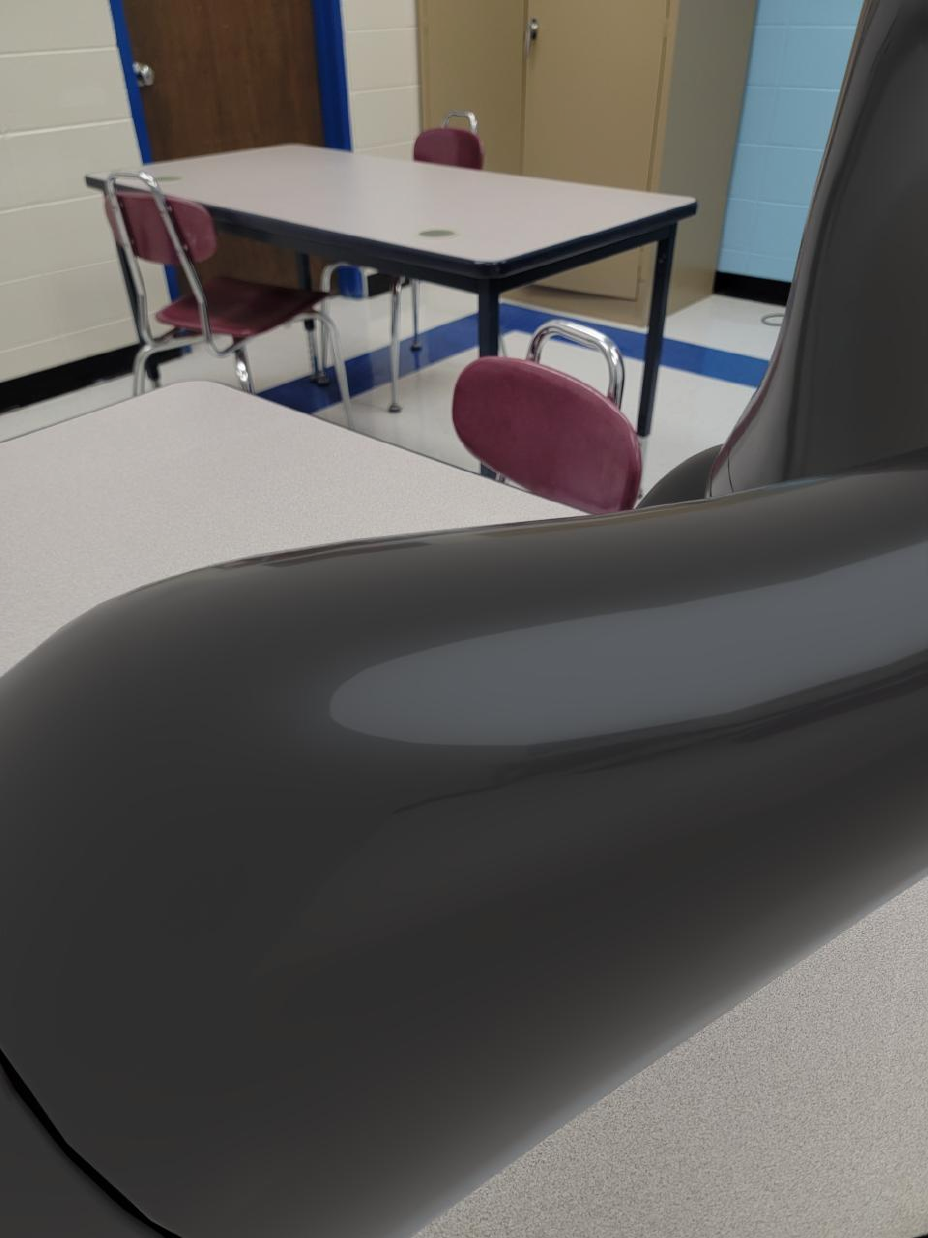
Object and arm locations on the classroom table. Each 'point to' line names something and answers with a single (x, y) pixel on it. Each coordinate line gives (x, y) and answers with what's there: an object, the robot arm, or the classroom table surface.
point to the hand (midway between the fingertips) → (434, 707)
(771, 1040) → the classroom table surface
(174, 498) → the classroom table surface
